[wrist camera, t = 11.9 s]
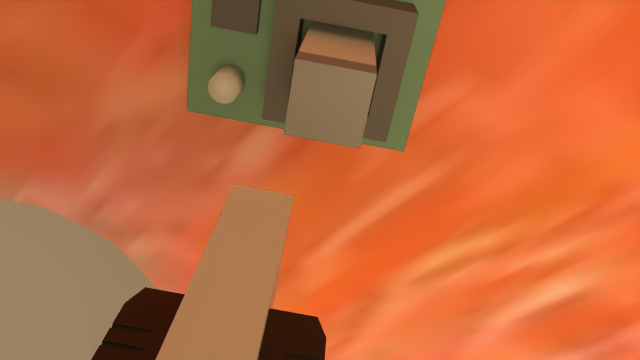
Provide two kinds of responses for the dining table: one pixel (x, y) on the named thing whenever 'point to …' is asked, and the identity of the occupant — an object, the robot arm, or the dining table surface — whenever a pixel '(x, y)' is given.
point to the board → (283, 45)
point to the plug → (332, 85)
